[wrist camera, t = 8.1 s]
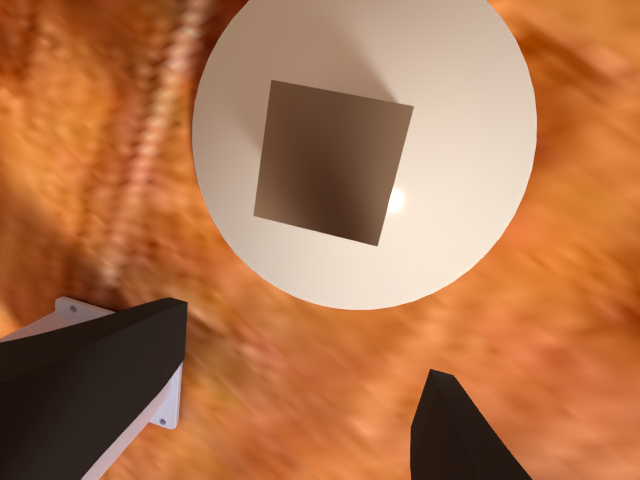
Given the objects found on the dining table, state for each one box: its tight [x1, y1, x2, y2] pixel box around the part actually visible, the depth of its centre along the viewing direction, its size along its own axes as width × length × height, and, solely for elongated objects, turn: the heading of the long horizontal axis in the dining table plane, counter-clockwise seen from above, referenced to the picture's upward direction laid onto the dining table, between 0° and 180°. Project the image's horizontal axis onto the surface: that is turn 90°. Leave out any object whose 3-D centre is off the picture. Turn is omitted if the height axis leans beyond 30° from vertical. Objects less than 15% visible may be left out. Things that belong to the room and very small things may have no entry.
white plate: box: [192, 0, 537, 310], centre depth 16 cm, size 16×16×1 cm
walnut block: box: [253, 80, 414, 247], centre depth 14 cm, size 5×5×5 cm
